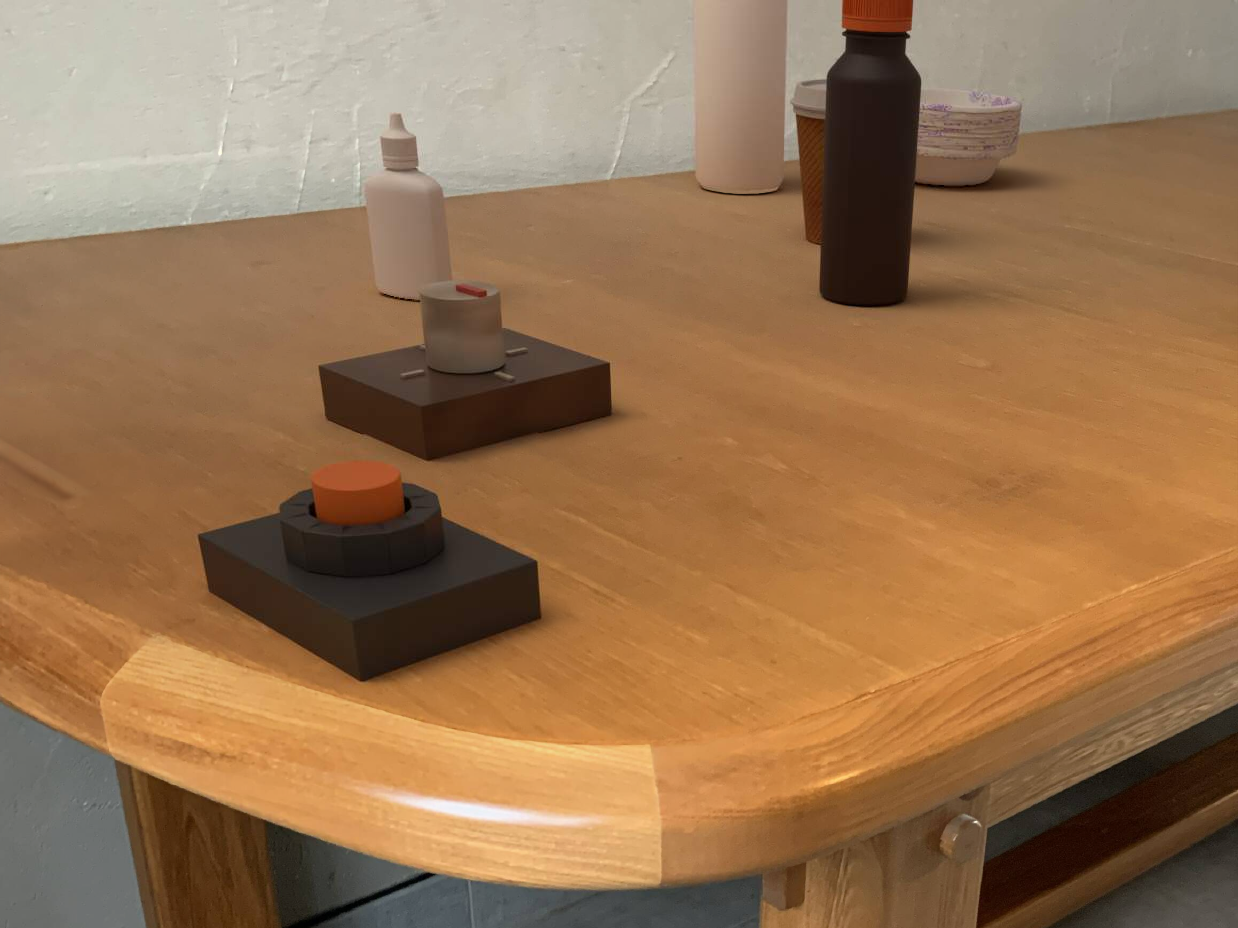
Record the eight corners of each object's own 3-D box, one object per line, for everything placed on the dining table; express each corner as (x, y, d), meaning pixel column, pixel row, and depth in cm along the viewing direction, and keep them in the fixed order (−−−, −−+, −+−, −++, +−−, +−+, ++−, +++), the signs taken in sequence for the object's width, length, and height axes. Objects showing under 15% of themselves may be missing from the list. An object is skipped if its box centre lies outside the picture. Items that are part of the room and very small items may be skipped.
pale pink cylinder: (777, 179, 155) (784, -176, 138) (788, 196, 148) (797, -177, 131) (692, 178, 154) (689, -180, 137) (698, 195, 147) (696, -182, 130)
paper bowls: (1041, 180, 160) (1050, 96, 156) (962, 198, 150) (970, 109, 146) (922, 161, 168) (928, 81, 163) (840, 177, 158) (844, 92, 153)
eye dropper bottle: (424, 283, 114) (405, 106, 107) (460, 299, 110) (443, 116, 104) (370, 290, 112) (347, 110, 105) (405, 306, 108) (385, 120, 101)
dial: (410, 361, 86) (402, 282, 84) (473, 348, 89) (466, 271, 86) (457, 378, 84) (450, 297, 81) (520, 364, 86) (515, 285, 84)
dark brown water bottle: (861, 281, 119) (875, -12, 108) (925, 298, 115) (947, -5, 104) (800, 293, 115) (808, -10, 104) (864, 311, 111) (881, -2, 100)
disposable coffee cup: (781, 247, 129) (784, 89, 122) (793, 225, 136) (797, 75, 130) (892, 253, 128) (902, 95, 121) (898, 231, 136) (908, 81, 129)
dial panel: (427, 462, 81) (420, 403, 79) (325, 418, 87) (317, 362, 85) (612, 414, 89) (610, 359, 87) (508, 376, 95) (504, 324, 93)
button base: (361, 683, 60) (345, 576, 57) (208, 592, 66) (188, 493, 64) (542, 619, 65) (535, 519, 63) (384, 541, 72) (372, 447, 69)
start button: (347, 537, 61) (341, 495, 60) (300, 513, 63) (293, 472, 62) (422, 516, 64) (417, 475, 63) (374, 493, 66) (368, 454, 65)
